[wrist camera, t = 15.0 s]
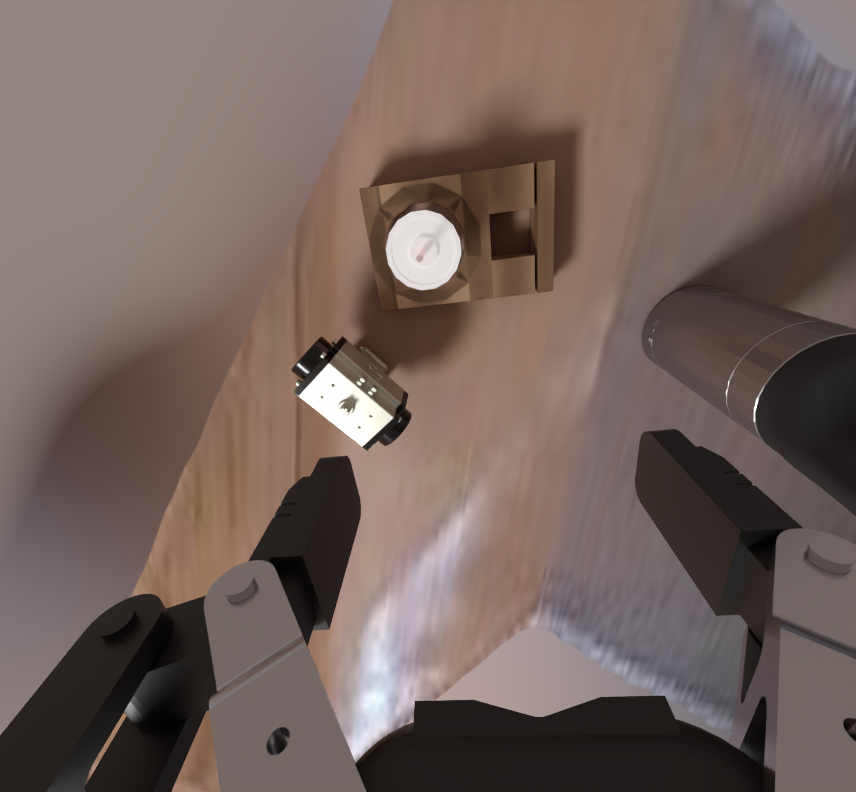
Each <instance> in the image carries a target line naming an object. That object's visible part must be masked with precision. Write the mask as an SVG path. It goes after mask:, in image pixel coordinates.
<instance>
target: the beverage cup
mask: <svg viewBox="0 0 856 792" xmlns="http://www.w3.org/2000/svg"><path fill="white" fill-rule="evenodd" d="M386 253H387V260H388V265H389V266H390V268H391V270H392V272H393V273H394V275H395V277H396V278H397V279H399V280H400V281H401V282H402V283H404V284H405V285H406V286H408V287H411V288H415V289H418V290H428V289H435V288H437V287H439V286H441V285H442V284H444V283H446V282H448V280H449V279H450V278H451V277H452V275H453V274H454V273H455V271H456V270H457V268H458V264H459V261H460V257H461V246H460V238H459V236H458V234H457V232H456V230H455V228H454V226H453V224H452V223H450V222H449V221H448V220H447V219H446V218H445V217H443V216H442V215H441V214H438V213H435V212H432V211H428V210H421V211H414V212H410V213H408V214H407V215H405V216H404V217H402V218H401V219H399V220H398V221H397V222H396V224H395V225H394V227H393V228H392V230H391V231H390V233H389V236H388V241H387V245H386Z"/></svg>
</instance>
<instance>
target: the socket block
mask: <svg viewBox="0 0 856 792" xmlns="http://www.w3.org/2000/svg"><path fill="white" fill-rule="evenodd" d="M554 192H555V159H554V160H548V161H541V162H537V163H535V164H534V163H528V164H521V165H514V166H508V167H501V168H494V169H487V170H481V171H474V172H467V173H461V174H454V175H447V176H440V177H434V178H427V179H420V180H414V181H407V182H400V183H393V184H387V185H380V186H373V187H367V188H360V195H361V201H362V206H363V212H364V217H365V223H366V229H367V234H368V240H369V245H370V251H371V257H372V262H373V268H374V273H375V279H376V285H377V290H378V296H379V301H380V307H381V311H388V310H396V309H405V308H413V307H421V306H430V305H438V304H447V303H455V302H464V301H472V300H481V299H489V298H498V297H506V296H515V295H523V294H532V293H535V290H536V291H537V292H538V293H540V292H549V291H553V278H554ZM425 202H434V203H437V204H439V205H441V206H443V207H445V208H447V209H449V210H451V211H452V212H453V214H454V215H455V217H456V218H457V220H458V221H459V223H460V224H461V226H462V227H463V235H464V247H465V250H464V252H463V254H462V257H461V259H460V261H459V264H458V268H457V270H456V271H455V273H454V274H453V275H452V277H451V278H450V279H449V280H448V282H446V283H444V284H442V285H441V286H439V287H437V288H435V289H428V290H418V289H415V288H411V287H408V286H406V285H405V284H404V283H402V282H401V281H400V280H399V279H397V278H396V277H395V275H394V273H393V272H392V270H391V268H390V266H389V265H388V260H387V253H386V245H387V241H388V236H389V233H390V231H391V230H392V228H393V226H394V223H395V220H396V218H397V217H398V216H399V215H400V214H401V213H403V212H404V211H405V210H406V209H407V208H408V207H410V206H411V205H412V204H418V203H425ZM523 209H530V249H531V253H529V252H522V253H514V254H506V255H498V256H491V241H490V223H489V214H494V213H501V212H509V211H516V210H523Z"/></svg>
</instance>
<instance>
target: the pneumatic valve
mask: <svg viewBox="0 0 856 792" xmlns="http://www.w3.org/2000/svg"><path fill="white" fill-rule="evenodd" d="M332 344H333V345H334V346H333V345H332ZM332 344H330V343H329V342H328V341H327V340H326V339H325V338H323V337H320V338H319V339H318V340H317V341H316V342H315V343H314V344H313V346H312V347H311V348H310V349H309V350H308V351H307V352H306V353H305V354H304V355H303V357H302V358H301V359H300V360H299V361H298V362H297V363H296V365H295V366H294V367H293V368H292V370H291V371H292V372H294V373H295V374H296V375H297V376H298V377H300V378H301V379H302V380H303V381H302V382H301V381H300V380H298V381H297V382H296V383H295V384H296V385H297V386H298V387H297V388H296V389H295V391H294V393H295V394H296V395H298V396H299V397H300V398H301V399H303V400H304V401H305V402H306V403H308V404H309V405H310V406H311V407H313V408H314V409H315V410H317V411H318V412H319V413H320V414H322V415H323V416H324V417H325V418H327V419H328V420H329V421H330V422H332V423H333V424H334V425H335V426H337V427H338V428H339V429H340V430H342V431H343V432H344V433H346V434H347V435H348V436H349V437H351V438H352V439H353V440H354V441H356V442H357V443H358V444H359V445H361V446H362V447H363V448H364V449H366V450H368V449H369V448H370V447H371V446H373V445H374V444H375V443H376V442H377V441H379V442H380V443H381V444H382V445H384V446H387V445H389V444H391V443H392V442H393V441H394V440H396V439H397V438H398V437H399V436H400V434H401V433H402V432H403V431H404V430H405V428H406V427H407V425H408V423H409V422H410V419H411V413H410V412H409V411H408V410H407V409H406V408H405V407H406V403H407V398H408V393H406V392H405V391H404V390H403V389H402V388H401V387H400V386H399V385H397V384H396V383H395V382H394V381H393V380H392V379H391V378H389V377H388V376H387V375H386V374H385V373H384V372H385V371H387V369H388V367H387V364H386V363H385V362H383V361H382V360H381V359H380V358H379V357H378V356H377V355H376V354H374V353H373V352H372V351H371V350H370V349H369V348H368V347H364V346H361V347H360V350H361V352H360V351H359V350H358V349H356V348H355V347H354V346H353V345H352V344H351V343H350V342H348V341H347V340H346V339H345V338H344V337H343V336H342V337H341V338H340V339H339V340H338V341H337V340H336V339H335V340H334V341H333V342H332Z"/></svg>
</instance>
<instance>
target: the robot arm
mask: <svg viewBox="0 0 856 792" xmlns="http://www.w3.org/2000/svg"><path fill="white" fill-rule="evenodd" d="M642 343H643V347H644V350H645V352H646V354H647V356H648V357H649V358H650V359H651V360H652V361H653V362H654V363H655V364H657V365H658V366H659V367H661V368H662V369H663V370H665V371H666V372H668V373H669V374H670V375H671V376H673V377H674V378H676V379H677V380H678V381H680V382H681V383H683V384H684V385H685V386H687V387H688V388H689V389H691V390H692V391H694V392H695V393H696V394H698V395H699V396H700V397H702V398H703V399H705V400H706V401H707V402H709V403H710V404H712V405H713V406H714V407H716V408H717V409H718V410H720V411H721V412H723V413H724V414H725V415H727V416H728V417H729V418H731V419H732V420H734V421H735V422H736V423H738V424H739V425H741V426H742V427H744V428H745V429H746V430H748V431H749V432H750V433H752V434H753V435H755V436H756V437H757V438H759V439H760V440H762V441H763V442H764V443H766V444H767V445H768V446H770V447H771V448H772V449H774V450H775V451H777V452H778V453H779V454H781V456H782V457H783V458H784V459H785V460H786V461H787V462H788V463H790V464H791V465H792V466H793V467H794V468H796V469H797V470H798V471H800V472H801V473H802V474H804V475H805V476H806V477H808V478H809V479H810V480H812V481H813V482H814V483H816V484H817V485H818V486H820V487H821V488H822V489H823V490H825V491H826V492H827V493H828V494H830V495H831V496H832V497H833V498H835V499H836V500H837V501H838V502H839V503H841V504H842V505H843V506H844V507H846V508H847V509H848V510H849V511H850V512H851V513H853V514H854V515H855V516H856V329H855V328H851V327H848V326H844V325H841V324H837V323H833V322H829V321H826V320H822V319H819V318H815V317H812V316H808V315H805V314H801V313H798V312H794V311H791V310H787V309H784V308H780V307H777V306H773V305H770V304H766V303H763V302H759V301H756V300H752V299H749V298H745V297H742V296H739V295H736V294H732V293H729V292H725V291H722V290H718V289H715V288H711V287H706V286H693V287H687V288H684V289H681V290H678V291H676V292H674V293H672V294H670V295H669V296H667V297H666V298H665V299H663V300H662V301H661V302H660V303H659V304H658V305H657V306H656V307H655V308H654V309H653V311H652V312H651V313H650V315H649V316H648V318H647V321H646V323H645V325H644V329H643V334H642ZM635 486H636V492H637V495H638V498H639V500H640V502H641V504H642V505H643V507H644V508H645V510H646V511H647V513H648V514H649V516H650V517H651V519H652V520H653V522H654V523H655V525H656V526H657V528H658V529H659V531H660V532H661V534H662V535H663V537H664V538H665V540H666V541H667V543H668V544H669V546H670V547H671V549H672V550H673V552H674V553H675V555H676V556H677V558H678V559H679V561H680V562H681V564H682V565H683V567H684V568H685V570H686V571H687V573H688V574H689V576H690V577H691V578H692V580H693V581H694V583H695V584H696V586H697V587H698V589H699V590H700V592H701V593H702V595H703V596H704V598H705V599H706V601H707V602H708V604H709V605H710V607H711V608H712V610H713V611H714V613H715V614H716V616H718V615H741V617H742V618H743V620H744V621H745V622H746V624H747V626H746V629H745V632H744V636H743V645H742V654H741V663H740V672H739V680H738V689H737V698H736V707H735V715H734V721H733V726H732V730H731V734H730V738H729V742H726V741H725V740H723V739H721V738H719V737H717V736H715V735H713V734H711V733H709V732H707V731H705V730H703V729H701V728H699V727H696V726H694V725H691V724H689V723H686V722H683V721H680V720H676V719H675V717H674V715H673V713H672V711H671V708H670V706H669V704H668V702H667V699H666V697H665V696H628V697H600V698H597V699H594V700H591V701H588V702H586V703H582V704H580V705H577V706H574V707H571V708H568V709H565V710H562V711H559V712H557V713H554V714H551V715H548V716H545V717H534V716H529V715H526V714H522V713H519V712H515V711H512V710H508V709H504V708H501V707H497V706H494V705H490V704H487V703H483V702H479V701H476V700H450V701H449V700H447V701H415V709H414V722H413V723H410V724H407V725H405V726H403V727H401V728H399V729H397V730H395V731H393V732H391V733H390V734H388V735H387V736H385V737H384V738H382V739H381V740H380V741H378V742H377V743H376V744H375V745H373V746H372V747H371V748H370V749H369V750H368V751H367V752H366V753H364V755H363V756H362V757H361V758H360V759H359V760H358V761H357V762H356V763H355V761H354V758H353V756H352V754H351V751H350V749H349V746H348V744H347V741H346V739H345V737H344V734H343V732H342V729H341V727H340V724H339V722H338V720H337V717H336V715H335V712H334V710H333V707H332V705H331V702H330V700H329V698H328V695H327V693H326V690H325V688H324V685H323V683H322V681H321V678H320V676H319V673H318V671H317V668H316V666H315V663H314V661H313V659H312V656H311V654H310V651H309V649H308V643H309V640H310V637H311V633H312V630H327V629H329V628H330V625H331V621H332V618H333V614H334V611H335V607H336V603H337V600H338V596H339V593H340V589H341V586H342V582H343V578H344V575H345V571H346V568H347V564H348V561H349V557H350V554H351V550H352V546H353V543H354V539H355V536H356V532H357V529H358V525H359V521H360V516H361V503H360V497H359V493H358V489H357V485H356V481H355V477H354V474H353V470H352V466H351V462H350V459H349V458H348V456H337V457H325V458H320V459H319V461H318V462H317V464H316V466H315V468H314V470H313V472H312V474H311V476H308V477H302V478H301V479H300V480H299V481H298V482H297V483H296V484H295V485H293V486H292V487H291V488H290V489H289V490H288V492H287V494H286V496H285V497H284V499H283V501H282V503H281V506H279V508H278V510H277V512H276V513H275V518H273V519H272V520H271V522H270V524H269V526H268V527H267V529H266V531H265V533H264V535H263V536H262V538H261V540H260V542H259V543H258V545H257V547H256V549H255V550H254V552H253V554H252V556H251V557H250V559H249V561H248V562H245V563H242V564H240V565H238V566H235V567H234V568H232V569H230V570H229V571H227V572H226V573H224V574H223V575H222V576H221V577H220V578H218V579H217V581H216V582H215V583H214V584H213V585H212V586H211V588H210V589H209V591H208V593H207V595H206V596H203V597H200V598H197V599H194V600H191V601H188V602H185V603H182V604H179V605H176V606H173V607H170V608H167V609H166V608H165V606H164V604H163V603H162V601H161V600H160V598H159V597H158V596H156V595H153V594H142V595H137V596H134V597H131V598H128V599H126V600H124V601H122V602H120V603H118V604H116V605H114V606H113V607H111V608H110V609H108V610H107V611H105V612H104V613H103V614H101V615H100V616H99V617H98V618H97V619H96V620H95V621H94V622H92V623H91V624H90V626H89V627H88V628H87V629H86V630H85V631H84V633H83V634H82V635H81V636H80V638H79V639H78V640H77V641H76V643H75V644H74V645H73V646H72V647H71V649H70V650H69V651H68V652H67V654H66V655H65V656H64V657H63V659H62V660H61V661H60V662H59V664H58V665H57V666H56V667H55V668H54V670H53V671H52V672H51V673H50V675H49V676H48V677H47V678H46V680H45V681H44V682H43V683H42V685H41V686H40V687H39V688H38V690H37V691H36V692H35V693H34V695H33V696H32V697H31V698H30V699H29V701H28V702H27V703H26V704H25V706H24V707H23V708H22V709H21V711H20V712H19V713H18V714H17V715H16V717H15V718H14V719H13V721H12V722H11V723H10V724H9V725H8V727H7V728H6V729H5V730H4V732H3V733H2V734H1V735H0V792H171V791H172V789H173V786H174V784H175V782H176V780H177V777H178V775H179V773H180V770H181V768H182V766H183V763H184V761H185V759H186V756H187V754H188V752H189V749H190V747H191V745H192V743H193V740H194V738H195V736H196V733H197V731H198V729H199V726H200V724H201V722H202V719H203V717H204V715H205V713H206V711H207V710H209V712H210V720H211V727H212V734H213V742H214V749H215V756H216V763H217V771H218V778H219V785H220V792H856V545H855V544H853V543H851V542H849V541H847V540H845V539H843V538H840V537H838V536H835V535H832V534H829V533H826V532H822V531H818V530H812V529H804V528H802V527H801V526H800V525H799V524H798V523H797V522H796V521H795V520H793V519H792V518H791V517H790V516H789V515H788V514H787V513H786V512H784V511H783V510H782V509H781V508H780V507H779V506H778V505H776V504H775V503H774V502H773V501H772V500H771V499H770V498H769V497H767V496H766V495H765V494H764V493H763V492H762V491H761V490H760V489H758V488H757V487H756V486H753V485H752V482H751V481H749V480H748V479H747V478H746V477H745V476H744V475H743V474H739V471H738V470H737V469H736V468H735V467H734V466H732V465H731V464H730V463H729V462H728V461H727V460H726V459H725V458H723V457H722V456H720V455H718V454H716V453H714V452H712V451H710V450H708V449H706V448H704V447H702V446H700V447H696V446H695V445H694V444H692V443H691V442H690V441H689V440H688V439H687V438H686V437H685V436H684V435H683V434H682V433H681V432H680V431H678V430H676V429H671V430H659V431H647V432H644V433H643V434H642V435H641V438H640V444H639V452H638V460H637V468H636V476H635ZM123 713H125V714H126V718H125V720H124V721H123V723H122V725H121V726H120V728H119V730H118V732H117V733H116V735H115V737H114V738H113V740H112V742H111V743H110V745H109V747H108V749H107V750H106V752H105V754H104V755H103V757H102V759H101V761H100V762H99V764H98V766H97V767H96V769H95V771H94V772H93V774H92V776H91V778H90V779H89V781H88V783H87V784H86V781H87V777H88V774H89V772H90V769H91V767H92V765H93V763H94V761H95V759H96V758H97V756H98V754H99V753H100V751H101V749H102V748H103V746H104V744H105V743H106V741H107V739H108V738H109V736H110V734H111V733H112V731H113V729H114V728H115V726H116V724H117V723H118V721H119V719H120V718H121V716H122V714H123Z"/></svg>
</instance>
